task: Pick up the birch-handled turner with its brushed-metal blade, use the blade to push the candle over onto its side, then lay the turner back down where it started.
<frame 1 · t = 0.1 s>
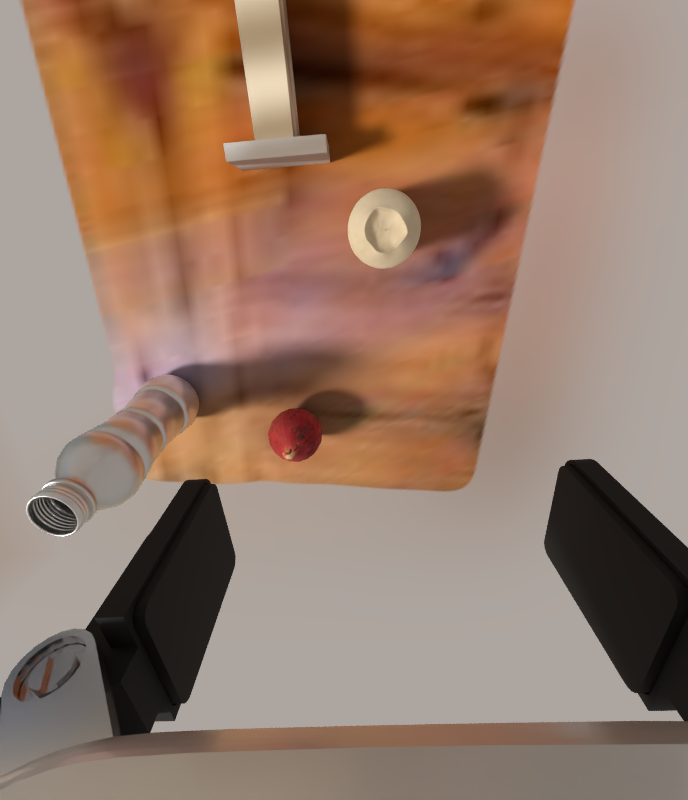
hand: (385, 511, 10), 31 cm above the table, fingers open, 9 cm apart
candle: (376, 229, 36), on the table
onion: (300, 418, 44), on the table
turner: (276, 80, 31), on the table
plastic bottle: (178, 395, 43), on the table
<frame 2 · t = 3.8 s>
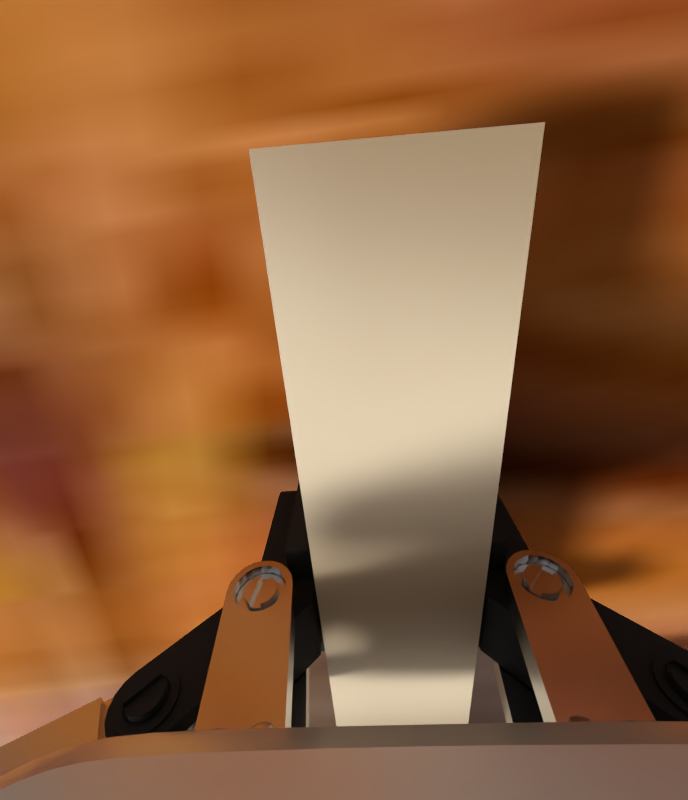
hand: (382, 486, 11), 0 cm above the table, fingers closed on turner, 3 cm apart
turner: (381, 477, 12), on the table, touching gripper
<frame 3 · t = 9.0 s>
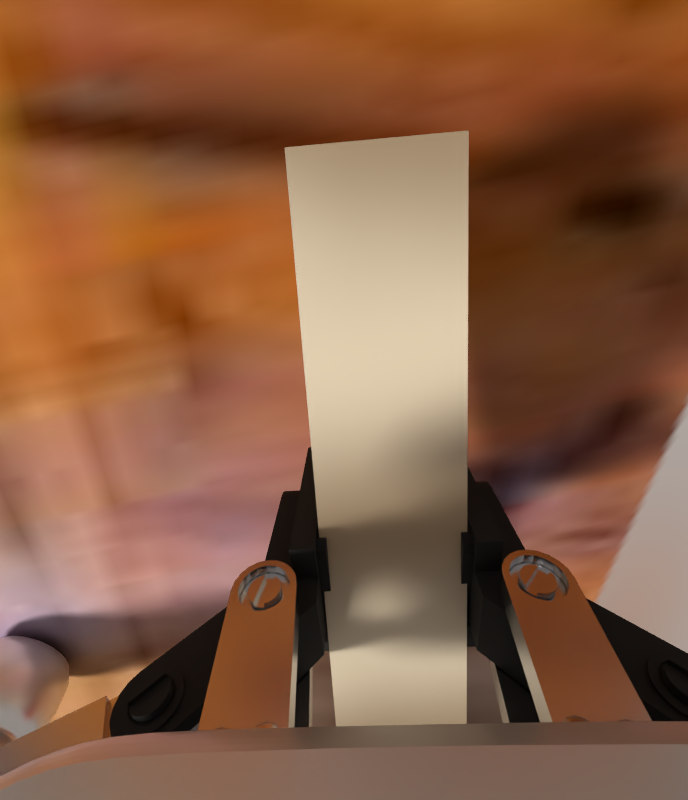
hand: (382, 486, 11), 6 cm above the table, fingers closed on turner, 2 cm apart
turner: (380, 473, 13), point 5 cm above the table, tilted 13°, touching gripper
plastic bottle: (38, 649, 26), on the table
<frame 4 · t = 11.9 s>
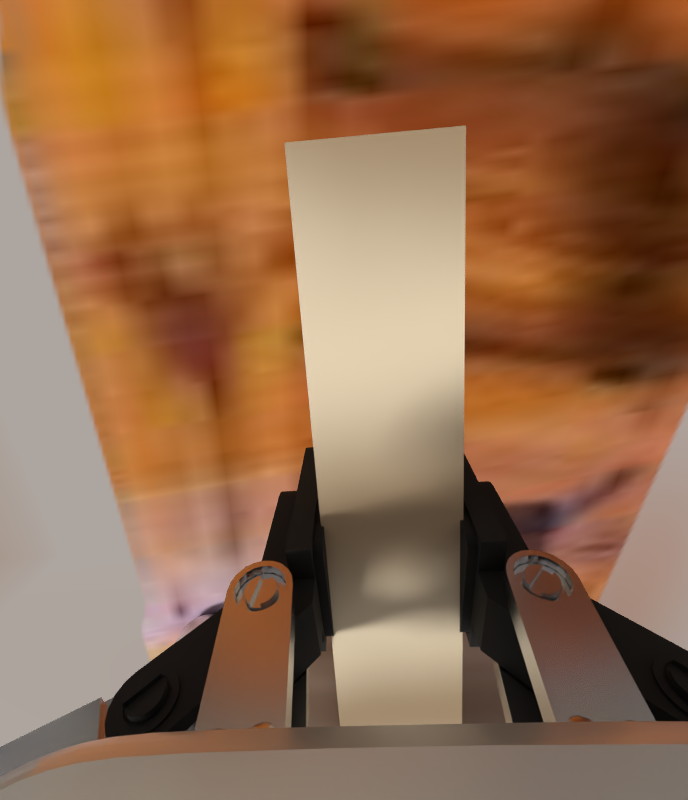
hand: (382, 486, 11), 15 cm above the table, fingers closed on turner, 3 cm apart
turner: (378, 462, 13), point 13 cm above the table, tilted 11°, touching gripper
when the fingers open (2 cm above the table, at t = 14.6 s): turner drops 1 cm, on the table.
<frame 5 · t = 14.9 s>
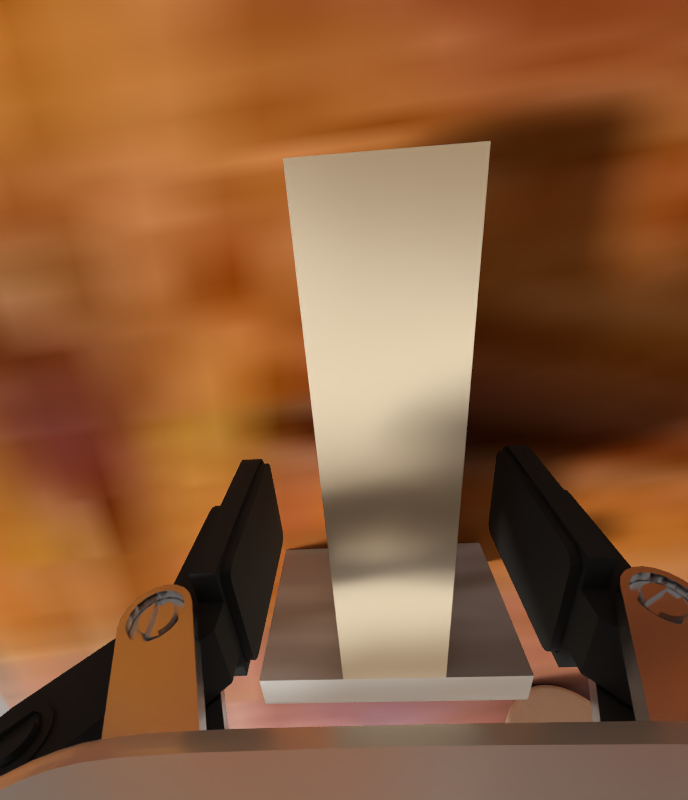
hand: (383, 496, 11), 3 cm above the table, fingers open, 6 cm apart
candle: (573, 748, 16), point 3 cm above the table
turner: (378, 442, 13), on the table
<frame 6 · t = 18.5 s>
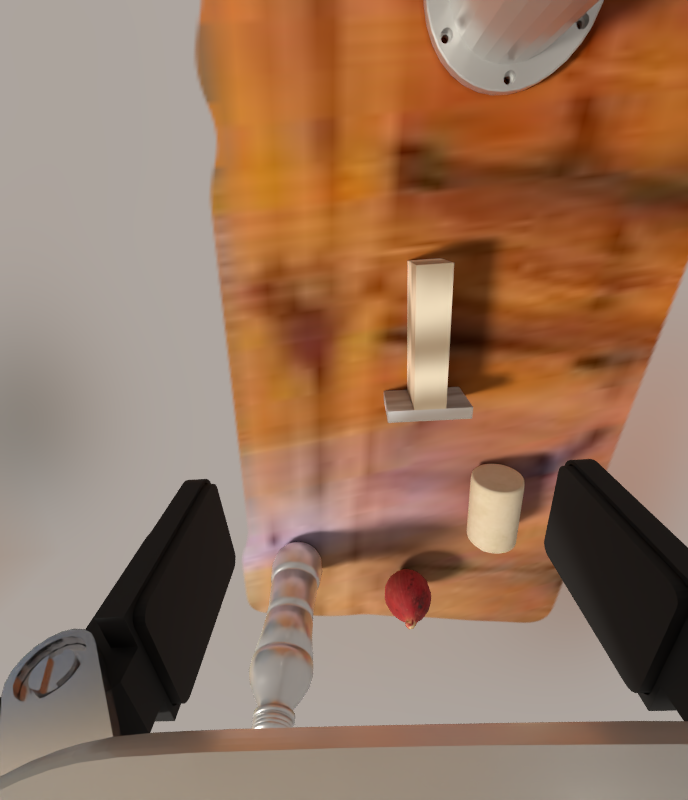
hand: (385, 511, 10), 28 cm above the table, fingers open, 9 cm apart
candle: (497, 475, 41), point 3 cm above the table
onion: (403, 569, 51), on the table
turner: (422, 343, 37), on the table
plastic bottle: (299, 552, 50), on the table
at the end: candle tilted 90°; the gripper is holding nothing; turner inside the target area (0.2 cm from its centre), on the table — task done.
